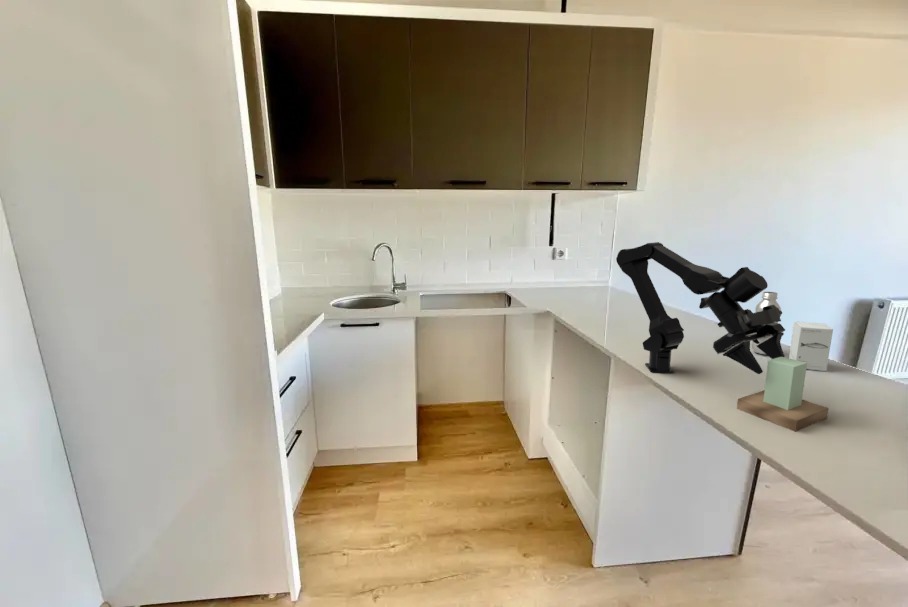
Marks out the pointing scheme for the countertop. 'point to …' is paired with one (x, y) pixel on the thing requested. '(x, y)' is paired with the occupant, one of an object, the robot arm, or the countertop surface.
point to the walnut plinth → (783, 412)
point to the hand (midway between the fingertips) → (773, 369)
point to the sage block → (784, 382)
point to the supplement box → (811, 344)
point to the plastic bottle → (768, 299)
